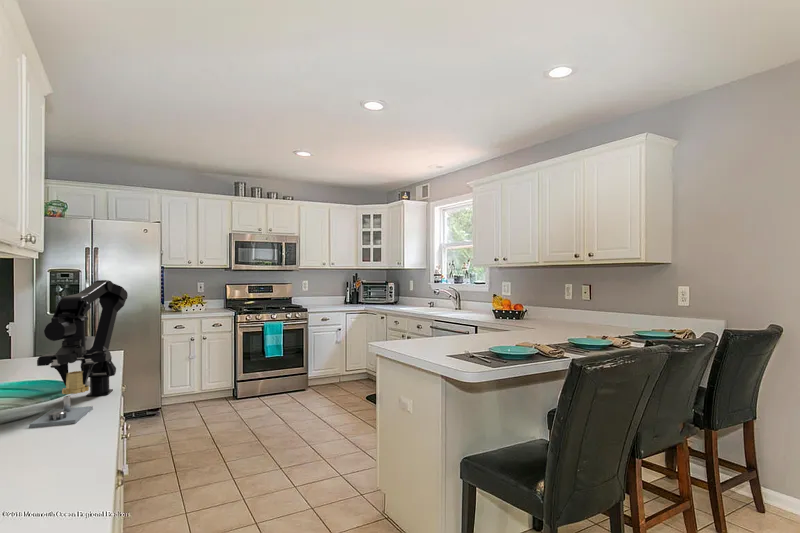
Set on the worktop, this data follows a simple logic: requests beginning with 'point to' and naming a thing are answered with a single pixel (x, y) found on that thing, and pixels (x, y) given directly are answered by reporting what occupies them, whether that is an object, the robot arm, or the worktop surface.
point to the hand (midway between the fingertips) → (75, 385)
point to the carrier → (62, 415)
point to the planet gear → (74, 383)
